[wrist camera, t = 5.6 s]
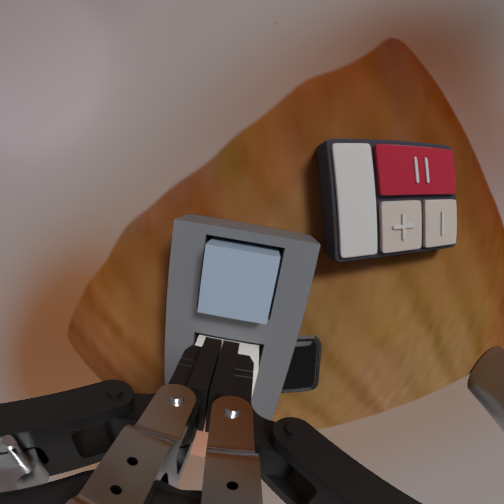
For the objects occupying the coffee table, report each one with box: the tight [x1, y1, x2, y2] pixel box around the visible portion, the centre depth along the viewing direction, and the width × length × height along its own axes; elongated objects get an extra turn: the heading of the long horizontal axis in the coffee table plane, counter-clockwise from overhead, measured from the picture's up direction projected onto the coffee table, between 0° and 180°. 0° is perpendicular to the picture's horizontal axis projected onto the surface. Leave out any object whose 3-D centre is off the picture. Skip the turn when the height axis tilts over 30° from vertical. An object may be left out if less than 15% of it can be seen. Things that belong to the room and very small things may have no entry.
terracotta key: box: [190, 422, 208, 457], centre depth 25 cm, size 6×6×4 cm
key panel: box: [165, 214, 321, 420], centre depth 27 cm, size 12×26×5 cm, turn 170°
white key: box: [195, 335, 259, 395], centre depth 23 cm, size 6×6×4 cm
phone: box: [281, 335, 321, 393], centre depth 30 cm, size 8×1×15 cm
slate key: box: [198, 236, 281, 324], centre depth 23 cm, size 6×6×4 cm
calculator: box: [317, 139, 457, 262], centre depth 24 cm, size 11×4×15 cm
